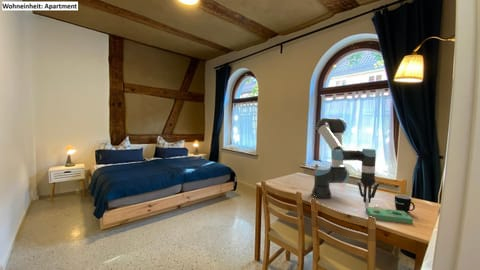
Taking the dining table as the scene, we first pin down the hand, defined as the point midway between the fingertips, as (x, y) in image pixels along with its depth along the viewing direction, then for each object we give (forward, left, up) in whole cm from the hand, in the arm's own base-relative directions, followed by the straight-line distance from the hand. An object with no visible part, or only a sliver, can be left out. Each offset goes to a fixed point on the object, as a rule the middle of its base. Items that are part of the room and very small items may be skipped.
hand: (366, 207), depth 139 cm
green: (+12, 0, -5) cm, 13 cm away
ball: (+6, 0, 0) cm, 6 cm away
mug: (+26, +13, -5) cm, 30 cm away
